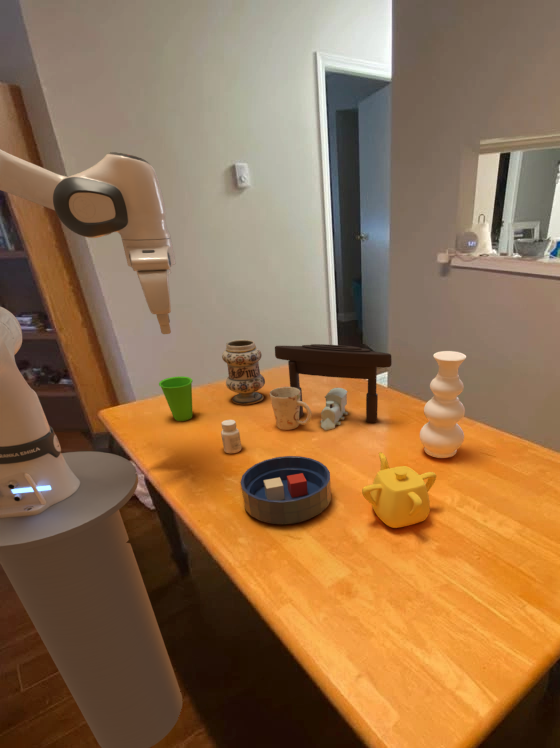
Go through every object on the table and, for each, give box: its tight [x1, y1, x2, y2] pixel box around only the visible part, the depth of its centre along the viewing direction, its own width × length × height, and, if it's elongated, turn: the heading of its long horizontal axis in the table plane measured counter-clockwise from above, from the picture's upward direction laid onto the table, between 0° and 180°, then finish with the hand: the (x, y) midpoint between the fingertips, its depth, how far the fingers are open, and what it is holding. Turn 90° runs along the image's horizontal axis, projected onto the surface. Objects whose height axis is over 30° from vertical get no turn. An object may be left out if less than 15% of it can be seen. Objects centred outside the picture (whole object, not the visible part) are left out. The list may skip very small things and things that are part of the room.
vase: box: [419, 350, 467, 459], centre depth 110 cm, size 11×11×25 cm
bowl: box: [239, 455, 332, 525], centre depth 96 cm, size 18×18×6 cm
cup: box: [158, 376, 194, 422], centre depth 133 cm, size 9×9×11 cm
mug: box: [269, 386, 313, 431], centre depth 127 cm, size 8×13×10 cm, turn 64°
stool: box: [274, 343, 393, 432], centre depth 129 cm, size 16×21×33 cm
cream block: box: [264, 477, 285, 500], centre depth 97 cm, size 4×4×4 cm
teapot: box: [361, 451, 437, 529], centre depth 91 cm, size 14×13×10 cm
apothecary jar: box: [221, 339, 266, 406], centre depth 143 cm, size 12×12×18 cm
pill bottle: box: [220, 419, 243, 454], centre depth 116 cm, size 4×4×8 cm
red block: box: [287, 473, 308, 498], centre depth 99 cm, size 4×4×4 cm
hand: (166, 328), depth 97 cm, fingers open, 8 cm apart
